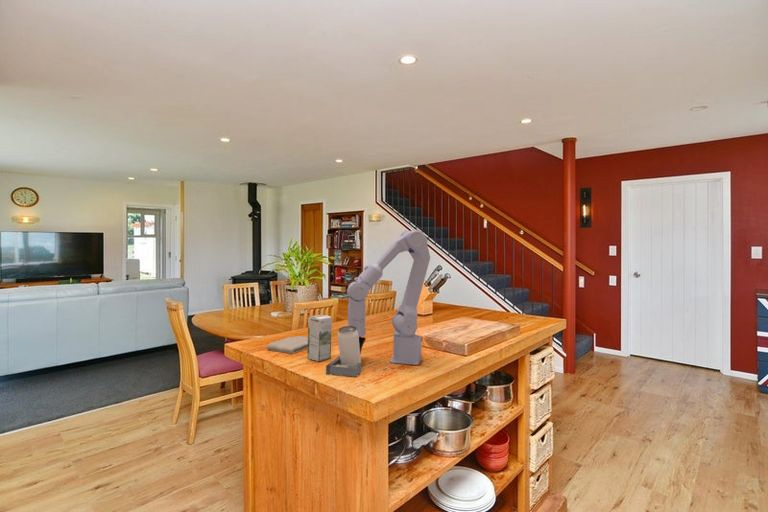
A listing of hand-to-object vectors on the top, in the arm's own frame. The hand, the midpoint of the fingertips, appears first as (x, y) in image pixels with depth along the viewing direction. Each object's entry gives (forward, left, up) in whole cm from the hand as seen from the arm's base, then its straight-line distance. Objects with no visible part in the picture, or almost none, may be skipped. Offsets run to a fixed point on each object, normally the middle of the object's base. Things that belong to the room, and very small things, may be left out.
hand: (355, 360), depth 128 cm
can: (0, +3, -1) cm, 3 cm away
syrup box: (+13, -2, -1) cm, 14 cm away
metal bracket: (0, +3, -1) cm, 3 cm away
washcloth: (+28, -14, -2) cm, 31 cm away
